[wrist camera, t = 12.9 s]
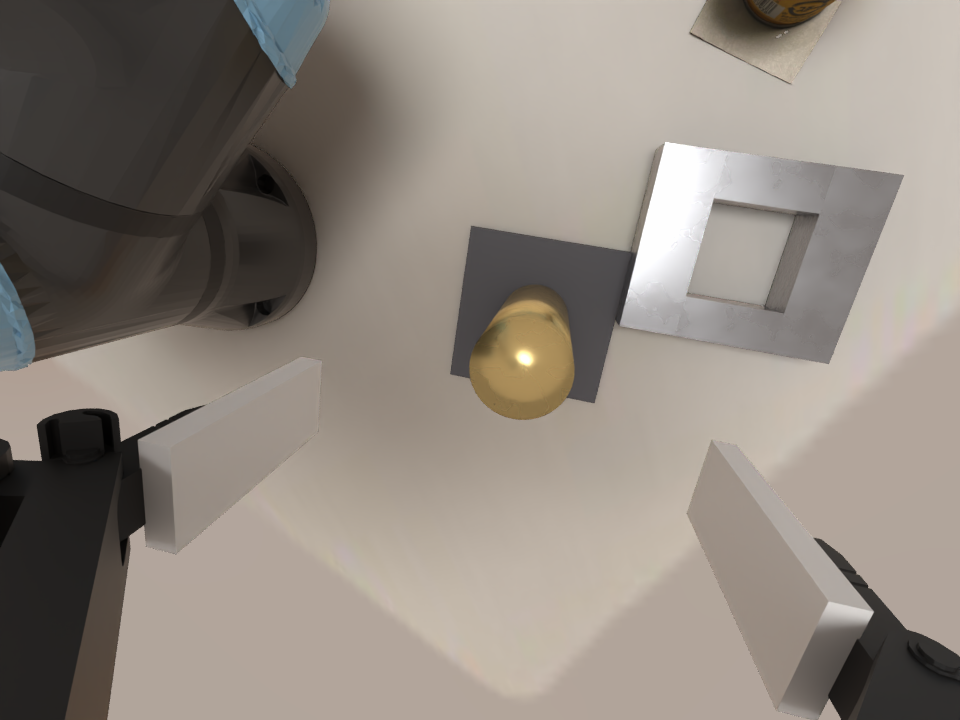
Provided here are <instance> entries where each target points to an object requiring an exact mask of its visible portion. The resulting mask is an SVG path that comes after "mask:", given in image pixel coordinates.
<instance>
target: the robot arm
mask: <svg viewBox="0 0 960 720" xmlns="http://www.w3.org/2000/svg"><path fill="white" fill-rule="evenodd" d="M329 7H330V0H0V371H5V370H6V371H15V370H19V369H22V368H25V367H28V364H31V363H33V362H36V361H40V360H44V359H48V358H52V357H56V356H59V355H63V354H67V353H71V352H75V351H78V350H82V349H86V348H90V347H94V346H98V345H101V344H105V343H109V342H113V341H117V340H120V339H124V338H128V337H132V336H136V335H140V334H143V333H147V332H151V331H155V330H159V329H162V328H166V327H170V326H174V325H178V324H180V325H187V326H194V327H202V328H209V329H217V330H226V331H233V330H244V329H249V328H253V327H256V326H259V325H263V324H266V323H269V322H271V321H274V320H276V319H278V318H280V317H281V316H283V315H284V314H286V313H287V312H289V311H290V310H291V309H292V308H293V307H294V306H295V305H296V304H297V303H298V302H299V300H300V299H301V298H302V296H303V295H304V293H305V291H306V289H307V287H308V285H309V283H310V280H311V278H312V274H313V271H314V267H315V260H316V235H315V228H314V223H313V219H312V216H311V213H310V209H309V207H308V204H307V202H306V200H305V198H304V196H303V194H302V192H301V190H300V189H299V187H298V185H297V184H296V182H295V181H294V180H293V178H292V177H291V176H290V174H289V173H288V172H287V171H286V170H285V169H284V168H283V167H282V166H281V165H280V164H279V163H278V162H277V161H276V160H275V159H273V158H272V157H271V156H269V155H268V154H266V153H265V152H263V151H262V150H260V149H258V148H256V147H254V146H252V145H250V144H249V143H250V142H251V140H252V139H253V137H254V136H255V134H256V133H257V131H258V130H259V129H260V127H261V126H262V124H263V123H264V121H265V120H266V118H267V117H268V116H269V114H270V113H271V111H272V110H273V108H274V107H275V105H276V104H277V103H278V101H279V100H280V98H281V97H282V95H283V94H284V93H285V91H286V90H287V88H288V87H289V88H290V89H292V87H293V86H294V85H295V83H296V81H297V80H296V76H295V75H296V73H297V71H298V70H299V68H300V66H301V64H302V63H303V61H304V59H305V57H306V55H307V54H308V52H309V50H310V48H311V46H312V45H313V43H314V41H315V40H316V38H317V36H318V35H319V33H320V31H321V30H322V28H323V26H324V24H325V22H326V20H327V17H328V13H329ZM321 372H322V361H321V360H316V359H312V358H307V357H302V356H301V357H299V358H297V359H295V360H294V361H292V362H290V363H288V364H286V365H284V366H282V367H280V368H278V369H276V370H274V371H272V372H270V373H268V374H266V375H264V376H262V377H260V378H258V379H256V380H254V381H252V382H250V383H248V384H246V385H244V386H243V387H241V388H239V389H237V390H235V391H233V392H231V393H229V394H227V395H225V396H223V397H221V398H219V399H217V400H215V401H213V402H211V403H209V404H207V405H203V406H199V407H196V408H192V409H188V410H184V411H182V412H180V413H178V414H176V415H174V416H172V417H170V418H169V420H164V421H162V422H160V423H158V424H156V426H155V427H154V426H152V427H150V428H148V429H146V430H144V431H142V432H140V433H138V434H136V435H134V436H132V437H130V438H128V439H126V440H124V441H122V442H121V440H120V439H121V438H120V428H119V418H118V415H117V414H116V413H114V412H112V411H110V410H105V409H78V410H70V411H66V412H62V413H58V414H54V415H52V416H49V417H47V418H45V419H43V420H42V421H41V422H39V423H38V424H37V430H38V437H39V443H40V450H41V457H42V461H24V460H13V459H12V453H11V447H10V445H9V442H8V441H5V440H2V439H0V720H107V717H108V710H109V702H110V695H111V687H112V680H113V673H114V666H115V658H116V651H117V644H118V636H119V629H120V622H121V614H122V607H123V600H124V591H125V585H126V578H127V569H128V563H129V556H130V539H129V536H130V535H131V534H132V533H134V532H135V531H136V530H138V529H139V528H141V527H142V526H143V525H144V527H145V541H146V547H149V548H153V549H157V550H161V551H164V552H168V553H172V554H177V553H178V552H179V551H181V550H182V549H183V548H184V547H185V546H187V545H188V544H189V543H190V542H191V541H192V540H193V539H195V538H196V537H197V536H198V535H199V534H200V533H202V532H203V531H204V530H205V529H206V528H207V527H208V526H210V525H211V524H212V523H213V522H214V521H216V520H217V519H218V518H219V517H220V516H221V515H222V514H224V513H225V512H226V511H227V510H228V509H229V508H231V507H232V506H233V505H234V504H235V503H236V502H238V501H239V500H240V499H241V498H242V497H243V496H245V495H246V494H247V493H248V492H249V491H250V490H251V489H253V488H254V487H255V486H256V485H257V484H258V483H260V482H261V481H262V480H263V479H264V478H265V477H267V476H268V475H269V474H270V473H271V472H272V471H274V470H275V469H276V468H277V467H278V466H279V465H280V464H282V463H283V462H284V461H285V460H286V459H287V458H289V457H290V456H291V455H292V454H293V453H294V452H296V451H297V450H298V449H299V448H300V447H301V446H303V445H304V444H305V443H306V442H307V441H308V440H309V439H311V438H312V437H313V436H314V435H315V434H316V433H318V429H319V410H320V391H321ZM687 515H688V517H689V519H690V522H691V524H692V526H693V528H694V530H695V533H696V535H697V537H698V539H699V541H700V544H701V546H702V548H703V550H704V552H705V555H706V557H707V559H708V561H709V563H710V566H711V568H712V570H713V572H714V575H715V577H716V579H717V581H718V583H719V586H720V588H721V590H722V592H723V594H724V597H725V599H726V601H727V603H728V605H729V608H730V610H731V612H732V614H733V616H734V619H735V621H736V623H737V625H738V627H739V630H740V632H741V634H742V636H743V639H744V641H745V643H746V645H747V647H748V650H749V651H750V654H751V656H752V658H753V661H754V663H755V665H756V667H757V669H758V672H759V674H760V676H761V678H762V680H763V683H764V685H765V687H766V689H767V691H768V694H769V696H770V698H771V700H772V702H773V705H774V707H775V709H776V711H779V712H783V713H787V714H790V715H794V716H798V717H802V718H806V719H810V720H818V718H819V717H820V715H821V713H822V711H823V709H824V707H825V705H826V703H827V701H828V699H830V700H831V702H832V704H833V705H834V707H835V709H836V711H837V712H838V714H839V716H840V718H841V720H960V657H959V656H958V655H957V654H955V653H954V652H952V651H951V650H949V649H948V648H946V647H944V646H943V645H941V644H940V643H938V642H936V641H934V640H932V639H930V638H928V637H926V636H924V635H922V634H919V633H916V632H912V631H909V630H907V629H906V628H905V627H904V626H903V625H902V624H901V623H900V621H899V620H898V619H897V618H896V617H895V616H894V615H893V613H892V612H891V611H890V610H889V609H888V608H887V607H886V605H885V604H884V603H883V602H882V601H881V600H880V598H879V597H878V596H877V595H876V594H875V593H874V592H873V590H872V589H869V588H868V585H867V583H866V582H865V581H864V580H863V579H862V578H861V577H860V575H857V574H856V571H855V570H854V568H853V567H852V566H851V565H850V564H849V563H848V561H846V560H845V558H844V557H843V556H842V555H841V554H840V553H838V552H837V551H836V550H835V549H833V548H832V547H831V546H829V545H828V544H827V543H825V542H824V541H822V540H821V539H817V538H813V537H812V536H811V535H810V534H809V532H808V531H807V530H806V529H805V527H804V526H803V525H802V524H801V523H800V521H799V520H798V519H797V518H796V517H795V515H794V514H793V513H792V512H791V510H790V509H789V508H788V507H787V505H786V504H785V503H784V502H783V501H782V500H781V498H780V497H779V496H778V495H777V493H776V492H775V491H774V490H773V488H772V487H771V486H770V485H769V484H768V482H767V481H766V480H765V479H764V478H763V476H762V475H761V474H760V473H759V471H758V470H757V469H756V468H755V467H754V465H753V464H752V463H751V462H750V461H749V459H748V458H747V457H746V456H745V454H744V453H743V452H742V451H741V450H740V448H739V447H738V446H737V445H735V444H730V443H725V442H720V441H715V440H711V443H710V446H709V449H708V452H707V455H706V458H705V461H704V464H703V467H702V470H701V473H700V476H699V479H698V482H697V484H696V487H695V490H694V493H693V496H692V499H691V502H690V505H689V508H688V511H687Z"/></svg>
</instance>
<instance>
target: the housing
mask: <svg viewBox="0 0 960 720" xmlns="http://www.w3.org/2000/svg"><path fill="white" fill-rule="evenodd" d="M903 177H904V175H899V174H892V173H885V172H877V171H870V170H863V169H855V168H848V167H841V166H834V165H826V164H819V163H812V162H804V161H797V160H790V159H783V158H775V157H768V156H761V155H753V154H746V153H739V152H732V151H724V150H717V149H710V148H703V147H695V146H688V145H681V144H673V143H666V142H665V143H664V144H663V145H661V146H660V147H659V148H658V149H656V151H655V155H654V159H653V164H652V168H651V172H650V176H649V180H648V184H647V188H646V192H645V196H644V200H643V204H642V208H641V212H640V216H639V221H638V225H637V229H636V233H635V237H634V241H633V245H632V249H631V257H630V261H629V265H628V269H627V273H626V277H625V281H624V285H623V289H622V293H621V297H620V301H619V305H618V310H617V314H616V318H615V320H616V321H617V323H618V324H619V326H623V327H628V328H634V329H639V330H645V331H650V332H656V333H661V334H667V335H672V336H678V337H683V338H689V339H694V340H700V341H705V342H711V343H716V344H722V345H727V346H733V347H738V348H744V349H749V350H754V351H760V352H765V353H771V354H776V355H782V356H787V357H793V358H798V359H804V360H809V361H815V362H820V363H826V364H829V362H830V360H831V357H832V355H833V352H834V350H835V347H836V345H837V342H838V340H839V337H840V335H841V332H842V330H843V327H844V325H845V322H846V320H847V317H848V315H849V312H850V310H851V307H852V305H853V302H854V300H855V297H856V295H857V292H858V290H859V287H860V285H861V282H862V280H863V277H864V275H865V272H866V270H867V267H868V265H869V262H870V259H871V257H872V254H873V252H874V249H875V247H876V244H877V242H878V239H879V237H880V234H881V232H882V229H883V227H884V224H885V222H886V219H887V217H888V214H889V212H890V209H891V207H892V204H893V202H894V199H895V197H896V194H897V192H898V189H899V187H900V184H901V182H902V179H903ZM713 203H719V204H726V205H733V206H739V207H746V208H753V209H759V210H766V211H773V212H779V213H786V214H793V215H796V217H795V220H794V223H793V226H792V229H791V232H790V235H789V238H788V240H787V243H786V246H785V249H784V252H783V255H782V258H781V261H780V264H779V267H778V270H777V273H776V275H775V278H774V281H773V284H772V287H771V290H770V293H769V296H768V299H767V302H766V305H765V306H761V305H755V304H749V303H744V302H738V301H732V300H726V299H720V298H714V297H709V296H703V295H697V294H691V293H687V290H688V287H689V283H690V280H691V276H692V273H693V269H694V266H695V263H696V259H697V256H698V252H699V249H700V245H701V242H702V238H703V235H704V231H705V228H706V224H707V221H708V217H709V214H710V211H711V207H712V204H713Z"/></svg>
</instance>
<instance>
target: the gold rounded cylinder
mask: <svg viewBox="0 0 960 720" xmlns="http://www.w3.org/2000/svg"><path fill="white" fill-rule="evenodd" d="M574 370H575V368H574V360H573V351H572V343H571V335H570V327H569V318H568V311H567V307H566V305H565V302H564V301H563V299H562V298H561V296H560V295H559V294H558V293H557V292H555V291H554V290H553V289H551V288H549V287H546V286H543V285H536V284H535V285H527V286H523V287H521V288H519V289H517V290H515V291H514V292H513V293H512V294H511V295H510V296H509V297H508V298H507V300H506V301H505V303H504V304H503V305H502V307H501V308H500V310H499V311H498V313H497V314H496V316H495V317H494V318H493V320H492V321H491V323H490V324H489V326H488V327H487V329H486V330H485V331H484V333H483V334H482V336H481V337H480V339H479V340H478V341H477V343H476V345H475V347H474V349H473V351H472V354H471V358H470V365H469V372H470V379H471V382H472V386H473V388H474V390H475V392H476V394H477V395H478V397H479V398H480V399H481V401H482V402H483V403H484V404H485V405H486V406H487V407H489V408H490V409H491V410H493V411H494V412H496V413H498V414H500V415H502V416H505V417H508V418H512V419H518V420H527V419H534V418H539V417H541V416H544V415H546V414H548V413H550V412H552V411H553V410H555V409H556V408H557V407H558V406H559V405H561V403H562V402H563V401H564V400H565V399H566V397H567V396H568V394H569V392H570V390H571V388H572V384H573V381H574Z"/></svg>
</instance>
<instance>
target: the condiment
mask: <svg viewBox="0 0 960 720" xmlns="http://www.w3.org/2000/svg"><path fill="white" fill-rule="evenodd" d="M841 2H842V0H707V1H706V3H705V5H704V7H703V9H702V11H701V13H700V15H699V16H698V18H697V20H696V22H695V24H694V26H693V28H692V29H691V31H690V32H691V33H693V34H694V35H696V36H698V37H700V38H702V39H703V40H704V41H707V42H709V43H711V44H712V45H714V46H716V47H718V48H721V49H722V50H724V51H725V52H727V53H730V54H732V55H733V56H735V57H738V58H740V59H742V60H744V61H745V62H746V63H748V64H751V65H754V66H756V67H758V68H760V69H762V70H764V71H766V72H768V73H769V74H771V75H774V76H776V77H778V78H780V79H782V80H784V81H787V82H788V83H790V84H791V83H792V81H793V80H794V78H795V76H796V75H797V73H798V72H799V70H800V69H801V67H802V65H803V64H804V62H805V60H806V59H807V57H808V56H809V54H810V53H811V51H812V50H813V48H814V46H815V44H816V42H817V41H818V39H819V38H820V36H821V35H822V33H823V32H824V30H825V28H826V27H827V25H828V23H829V22H830V20H831V18H832V17H833V15H834V13H835V12H836V10H837V8H838V7H839V5H840V3H841ZM787 30H788V31H789V32H788V33H787V34H784V31H787ZM779 34H782V36H781V37H780V38H776V36H778V35H779Z"/></svg>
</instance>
